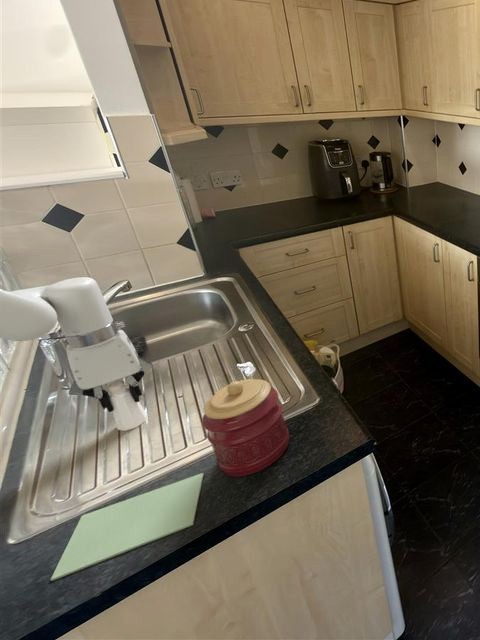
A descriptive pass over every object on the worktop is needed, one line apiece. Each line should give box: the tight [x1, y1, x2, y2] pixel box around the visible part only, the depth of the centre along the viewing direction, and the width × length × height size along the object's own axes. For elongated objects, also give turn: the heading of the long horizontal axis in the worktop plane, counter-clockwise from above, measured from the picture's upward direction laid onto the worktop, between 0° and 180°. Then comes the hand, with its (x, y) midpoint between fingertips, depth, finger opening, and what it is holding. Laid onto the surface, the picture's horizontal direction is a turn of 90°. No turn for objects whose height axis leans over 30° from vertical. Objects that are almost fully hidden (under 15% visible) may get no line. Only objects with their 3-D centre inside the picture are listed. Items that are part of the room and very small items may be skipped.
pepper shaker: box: [107, 380, 148, 432], centre depth 93 cm, size 5×5×11 cm
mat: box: [50, 472, 205, 582], centre depth 71 cm, size 18×12×1 cm, turn 119°
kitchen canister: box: [201, 378, 290, 478], centre depth 82 cm, size 13×13×18 cm
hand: (124, 403), depth 92 cm, fingers closed on pepper shaker, 3 cm apart
